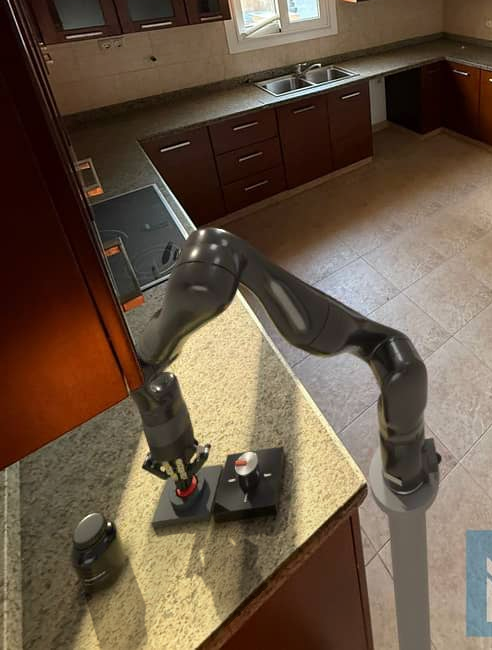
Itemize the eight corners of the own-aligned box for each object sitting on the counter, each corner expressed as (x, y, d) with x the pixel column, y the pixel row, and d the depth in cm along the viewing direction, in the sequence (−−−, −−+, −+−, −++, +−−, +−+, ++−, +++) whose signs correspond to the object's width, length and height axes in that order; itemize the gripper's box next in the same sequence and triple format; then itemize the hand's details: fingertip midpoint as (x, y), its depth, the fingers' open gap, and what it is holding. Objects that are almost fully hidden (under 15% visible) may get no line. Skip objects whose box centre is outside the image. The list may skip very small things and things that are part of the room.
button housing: (223, 469, 93) (220, 458, 92) (211, 519, 85) (207, 507, 84) (171, 477, 92) (167, 466, 91) (153, 528, 84) (149, 516, 83)
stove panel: (285, 455, 95) (283, 445, 94) (277, 514, 85) (274, 504, 84) (229, 463, 94) (227, 454, 93) (214, 524, 84) (211, 513, 83)
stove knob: (263, 465, 91) (259, 449, 89) (257, 489, 87) (254, 473, 85) (242, 467, 91) (238, 451, 89) (235, 491, 86) (231, 474, 85)
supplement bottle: (93, 606, 73) (73, 563, 70) (76, 578, 77) (56, 536, 73) (134, 562, 79) (118, 520, 75) (116, 538, 82) (100, 496, 79)
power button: (200, 480, 90) (198, 474, 89) (194, 499, 86) (192, 494, 86) (182, 482, 89) (180, 477, 89) (176, 502, 86) (174, 496, 85)
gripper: (121, 450, 78) (143, 513, 83) (197, 440, 79) (214, 502, 84) (140, 411, 85) (159, 471, 90) (209, 402, 86) (224, 461, 91)
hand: (186, 486), depth 87 cm, fingers closed
